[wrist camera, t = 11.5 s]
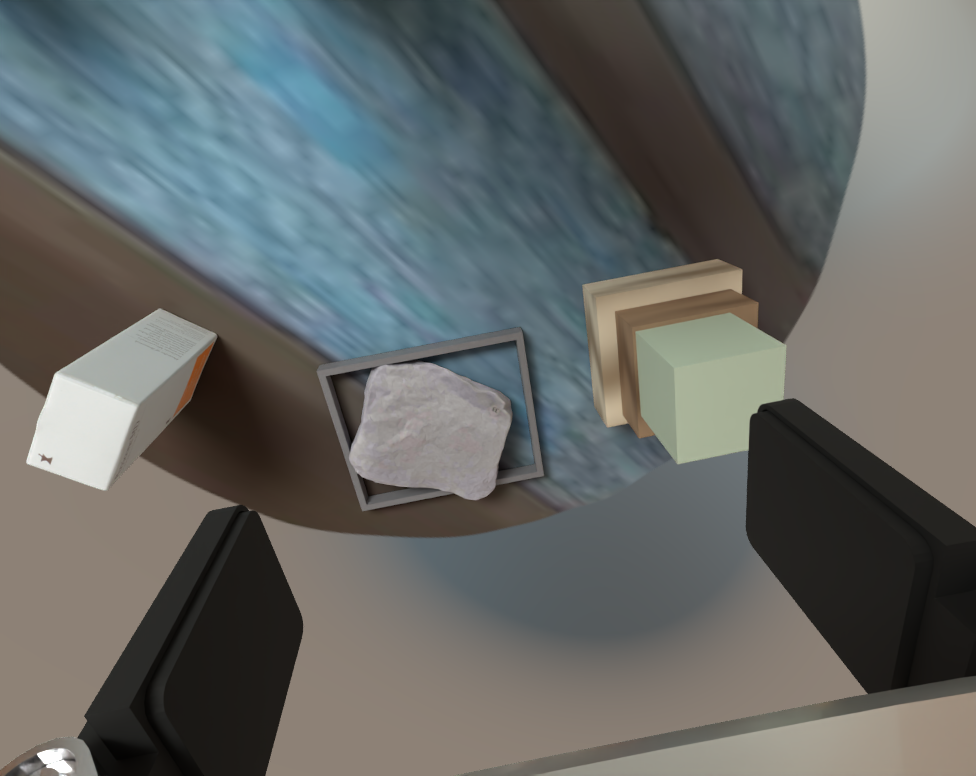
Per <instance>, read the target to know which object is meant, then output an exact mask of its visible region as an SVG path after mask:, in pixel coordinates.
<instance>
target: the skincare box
mask: <svg viewBox="0 0 976 776" xmlns="http://www.w3.org/2000/svg"><path fill="white" fill-rule="evenodd" d="M216 339H217V335H216V334H215V333H213V332H211V331H209V330H207V329H204V328H202V327H200V326H198V325H195V324H193V323H191V322H189V321H187V320H184V319H182V318H180V317H178V316H176V315H174V314H171V313H169V312H167V311H165V310H163V309H158V310H156V311H155V312H153V313H151V314H150V315H148V316H147V317H145V318H143V319H142V320H140V321H139V322H137V323H135V324H134V325H132V326H131V327H129V328H127V329H126V330H124V331H122V332H121V333H119V334H118V335H116V336H114V337H113V338H111V339H110V340H108V341H106V342H105V343H103V344H102V345H100V346H98V347H97V348H95V349H93V350H92V351H90V352H89V353H87V354H85V355H84V356H82V357H81V358H79V359H77V360H76V361H74V362H72V363H71V364H69V365H68V366H66V367H64V368H63V369H61V370H60V371H58V372H56V374H55V375H54V378H53V381H52V384H51V387H50V390H49V393H48V396H47V399H46V402H45V405H44V407H43V409H42V411H41V414H40V416H39V419H38V422H37V425H36V432H35V435H34V438H33V442H32V445H31V448H30V451H29V454H28V457H27V461H26V462H27V464H28V465H32V466H34V467H37V468H40V469H43V470H46V471H49V472H52V473H55V474H57V475H60V476H63V477H66V478H69V479H71V480H74V481H77V482H80V483H83V484H85V485H89V486H91V487H94V488H97V489H101V490H104V491H106V490H108V489H109V488H110V487H111V486H112V485H113V484H114V483H115V482H116V481H117V480H118V478H119V477H120V476H121V475H122V474H123V473H124V472H125V471H126V470H127V469H128V468H129V467H130V465H131V464H132V463H133V462H134V461H135V460H136V459H137V458H138V457H139V456H140V455H141V454H142V453H143V451H144V450H145V449H146V448H147V447H148V446H149V445H150V444H151V443H152V442H153V441H154V440H155V439H156V438H157V436H158V435H159V434H160V433H161V432H162V431H163V430H164V429H165V428H166V427H167V425H168V424H169V423H170V422H171V421H172V420H173V419H174V418H175V417H176V416H177V415H178V414H179V413H180V411H181V410H182V409H183V408H184V407H185V406H186V405H187V404H188V403H189V402H190V401H191V398H192V395H193V393H194V390H195V388H196V385H197V383H198V380H199V378H200V375H201V373H202V370H203V368H204V365H205V363H206V361H207V359H208V357H209V354H210V352H211V350H212V348H213V345H214V343H215V341H216Z"/></svg>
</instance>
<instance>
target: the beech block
mask: <svg viewBox="0 0 976 776" xmlns="http://www.w3.org/2000/svg"><path fill="white" fill-rule="evenodd" d="M582 287H583V297H584V307H585V317H586V327H587V337H588V347H589V357H590V367H591V377H592V387H593V398H594V407H595V408H596V410H597V411H598V413H599V415H600V416H601V418H602V420H603V421H604V423H605V425H606V426H607V428H608V427H613V426H618V425H623V424H628V422H627V420H626V419H625V418H624V416H623V413H622V400H621V386H620V373H619V360H618V346H617V333H616V320H615V311H619V310H624V309H629V308H635V307H640V306H645V305H650V304H655V303H660V302H665V301H671V300H676V299H681V298H686V297H691V296H696V295H701V294H707V293H712V292H717V291H722V290H727V289H732V290H734V291H736V292H738V293H740V294H742V269H740V268H738V267H736V266H733V265H731V264H728V263H726V262H724V261H721V260H719V259H715V260H709V261H704V262H699V263H694V264H688V265H683V266H678V267H673V268H667V269H662V270H657V271H652V272H646V273H641V274H636V275H631V276H626V277H620V278H615V279H610V280H605V281H599V282H594V283H589V284H584V285H582Z"/></svg>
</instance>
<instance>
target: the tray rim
mask: <svg viewBox="0 0 976 776" xmlns="http://www.w3.org/2000/svg"><path fill="white" fill-rule="evenodd" d="M513 340H515V342H516V348H517V354H518V361H519V367H520V373H521V380H522V386H523V393H524V399H525V405H526V412H527V418H528V424H529V431H530V437H531V444H532V450H533V456H534V463H535V464H533V465H528V466H522V467H517V468H512V469H507V470H502V471H498V474H497V478H496V485H500V484H505V483H510V482H515V481H521V480H526V479H531V478H536V477H541V476H544V472H543V466H542V459H541V452H540V446H539V439H538V433H537V426H536V419H535V413H534V406H533V399H532V393H531V386H530V379H529V373H528V366H527V359H526V353H525V346H524V339H523V333H522V330H521V328H520V327H517V328H512V329H506V330H501V331H496V332H491V333H485V334H480V335H475V336H470V337H464V338H459V339H454V340H449V341H443V342H438V343H433V344H428V345H422V346H417V347H412V348H407V349H401V350H396V351H391V352H386V353H380V354H375V355H370V356H365V357H359V358H354V359H349V360H344V361H339V362H333V363H328V364H323V365H320V366H319V368H318V370H317V374H318V377H319V380H320V383H321V386H322V389H323V392H324V395H325V398H326V402H327V405H328V408H329V411H330V414H331V417H332V420H333V423H334V426H335V429H336V432H337V435H338V438H339V441H340V444H341V448H342V451H343V454H344V457H345V460H346V463H347V466H348V469H349V472H350V475H351V478H352V481H353V484H354V487H355V491H356V494H357V497H358V500H359V503H360V506H361V509H362V511H366V510H371V509H376V508H381V507H387V506H392V505H397V504H402V503H407V502H412V501H418V500H423V499H428V498H433V497H438V496H443V495H448V494H454V493H452V492H445V491H442V490H439V489H434V488H423V487H419V488H409V489H404V490H399V491H393V492H388V493H383V494H378V495H373V496H368V494H367V491H366V487H365V484H364V481H363V478H362V477H361V476H360V475H359V474H358V473H357V472H356V471H355V469H354V467H353V465H351V463H350V460H349V454H350V451H351V446H352V443H351V440H350V437H349V434H348V430H347V427H346V424H345V421H344V418H343V415H342V411H341V408H340V405H339V402H338V399H337V396H336V392H335V389H334V386H333V383H332V380H331V377H330V375H335V374H340V373H345V372H351V371H356V370H361V369H366V368H371V367H377V366H382V365H387V364H392V363H398V362H403V361H408V360H413V359H419V358H424V357H429V356H434V355H440V354H445V353H450V352H455V351H460V350H466V349H471V348H476V347H481V346H487V345H492V344H497V343H502V342H508V341H513Z"/></svg>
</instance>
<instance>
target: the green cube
mask: <svg viewBox="0 0 976 776" xmlns="http://www.w3.org/2000/svg"><path fill="white" fill-rule="evenodd" d="M635 333H636V348H637V363H638V378H639V393H640V408H641V417H642V418H643V419H644V420H645V422H646V423H647V424H648V426H649V427H650V428H651V430H652V431H653V432H654V434H655V435H656V436H657V438H658V439H659V440H660V442H661V443H662V444H663V446H664V447H665V448H666V450H667V451H668V452H669V454H670V455H671V456H672V458H673V459H674V460H675V462H676V463H677V464H681V463H686V462H691V461H696V460H701V459H706V458H711V457H716V456H721V455H726V454H730V453H736V452H741V451H745V450H749V423H750V417H751V415H752V414H754V413H757V411H758V408H759V406H760V405H762V404H765V403H770V402H775V401H781V400H783V399H784V398H783V397H784V381H785V364H786V347H787V346H786V345H785V344H783V343H781V342H780V341H778V340H776V339H774V338H773V337H771V336H769V335H768V334H766V333H764V332H762V331H761V330H759V329H757V328H756V327H754V326H752V325H751V324H749V323H747V322H745V321H744V320H742V319H740V318H739V317H737V316H735V315H734V314H732V313H725V314H720V315H715V316H710V317H705V318H700V319H695V320H690V321H685V322H680V323H675V324H670V325H665V326H660V327H655V328H650V329H645V330H640V331H635Z"/></svg>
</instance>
